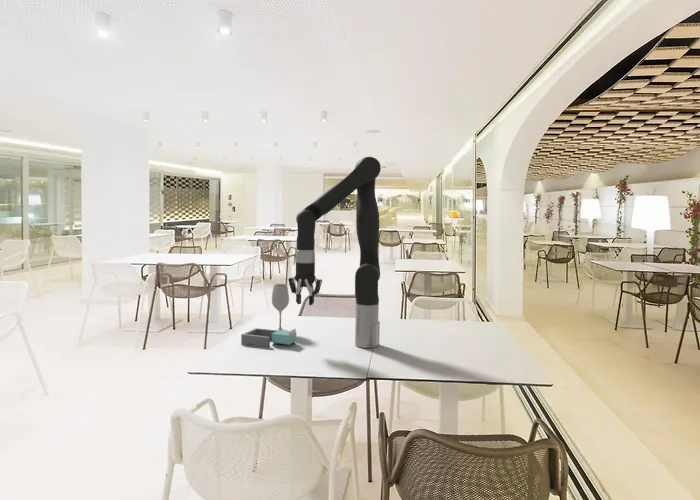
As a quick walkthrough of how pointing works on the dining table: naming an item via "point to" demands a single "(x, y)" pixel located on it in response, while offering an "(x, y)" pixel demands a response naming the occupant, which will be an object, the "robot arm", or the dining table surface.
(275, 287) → the wineglass
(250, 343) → the bay
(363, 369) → the dining table surface
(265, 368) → the dining table surface
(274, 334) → the teal box with handle
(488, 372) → the dining table surface
